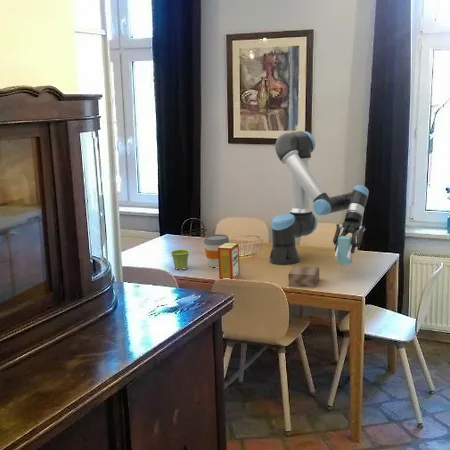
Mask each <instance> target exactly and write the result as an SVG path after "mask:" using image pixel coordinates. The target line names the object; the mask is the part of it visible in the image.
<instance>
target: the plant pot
mask: <svg viewBox="0 0 450 450" xmlns="http://www.w3.org/2000/svg"><path fill="white" fill-rule="evenodd" d="M170 254H171V257H172V261H173V264H174V265H173V266H174V269H175V268H177V269H182V270H184V269H183V268H186V267H187V268H188V261H189V260H188V259H189V255H190V250H188V249H175V250H172V251H171V252H170Z"/></svg>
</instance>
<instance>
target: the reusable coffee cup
mask: <svg viewBox="0 0 450 450" xmlns="http://www.w3.org/2000/svg"><path fill="white" fill-rule="evenodd" d="M203 240H204V241H203V243H204V245H205V247H204V251H205V255H206V256H205V257H206V258H207V262H208V267H209V266H211V267H219V261H218V247H220V246H222V245H223V244H225V243H230V239H229V235H226V234H223V233H221V234H219V233H218V234H209V235H206V236H204V239H203ZM211 267H210V268H211Z"/></svg>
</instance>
